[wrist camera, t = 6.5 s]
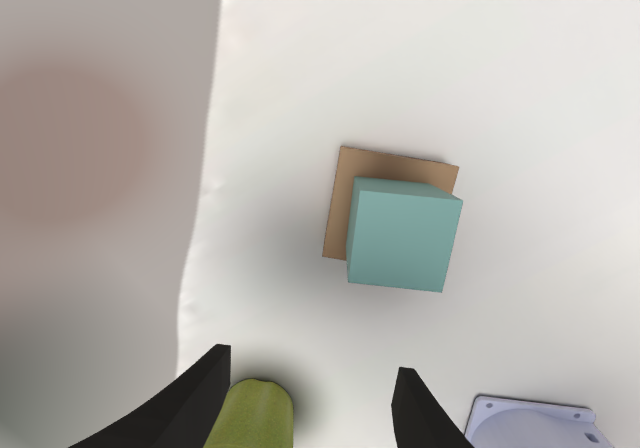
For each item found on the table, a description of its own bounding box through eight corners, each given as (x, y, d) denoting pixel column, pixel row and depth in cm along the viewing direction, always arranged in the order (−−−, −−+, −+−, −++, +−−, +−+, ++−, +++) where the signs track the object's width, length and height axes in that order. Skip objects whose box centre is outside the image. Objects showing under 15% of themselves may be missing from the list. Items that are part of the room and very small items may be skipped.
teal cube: (429, 183, 18) (463, 200, 13) (415, 253, 19) (441, 292, 14) (354, 176, 18) (359, 190, 13) (345, 246, 19) (348, 282, 14)
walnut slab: (442, 162, 20) (459, 166, 17) (416, 256, 22) (428, 274, 19) (340, 145, 20) (340, 147, 18) (324, 241, 22) (322, 256, 20)
